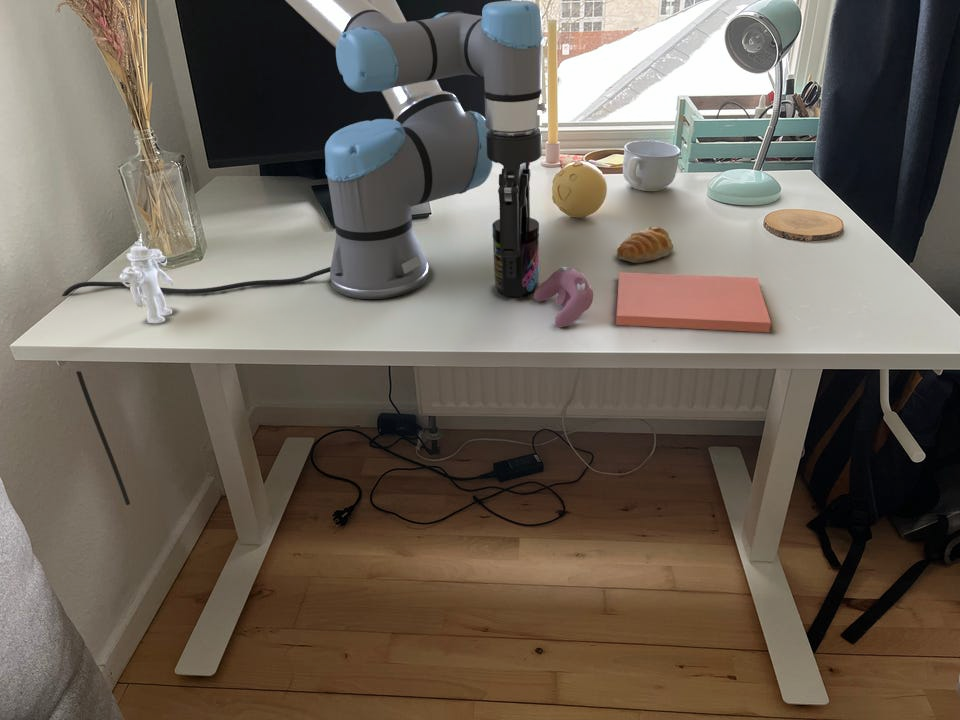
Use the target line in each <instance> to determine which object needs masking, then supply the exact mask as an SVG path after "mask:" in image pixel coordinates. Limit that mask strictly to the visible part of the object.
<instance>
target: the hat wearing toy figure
mask: <svg viewBox="0 0 960 720" xmlns="http://www.w3.org/2000/svg"><path fill="white" fill-rule="evenodd" d="M142 238H143V237H142V233H139V237H138V239H137V241H134V244H135V245H133V246H131V247H130V252H128V253H126V259H127V260H128V261H130V265H128V266H125V268H123V269H122V270H121V271H122V273H120V275H119V279H120V282H122V283H123V284H124V285H125V286H127V287H126V288H129V289H130V290H129V291H130V293H131V295H132V299H133V300H134V304H135V306H136V307H137V308H141V309H144V307H146V308H147V313H146V318H147V323H149V324H162V323H165V321H166V318H165V317H164V316H166V317H167V316H171V315H172V314H173V309H172V308H169V307H167V305H166V304H167V302H166V298H165V297H164V292H162V291H161V289H160V287H161V286H160V285H159V283H158V277H159V278H160V280H161V281H162V282H163V283H164V284H165V285H166V286H169V287H173V286H174V281H173V279H172V278H171V277H170V276H169V275H168V274H166V272H165V270H163V269H160V265H159V264H161V265H162V266H163V267H166V265H167V263H168V257H167V255H163V252H162V250H160V248H148V247H147V246H145V245H144V246H143V243H142V242H143V239H142ZM126 282H128V283H130V284H125V283H126Z"/></svg>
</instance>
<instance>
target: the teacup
mask: <svg viewBox="0 0 960 720" xmlns="http://www.w3.org/2000/svg"><path fill="white" fill-rule="evenodd" d="M623 149H624V152H623V161H622V175H623V178H624V180H625V181H626V182H627V183H628V184H629V185H630V186H631V187H632V188H633V189H635V190H638V191H643V192H658V191H661V190H663V189H665V188H666V187H668V186H669V185H671V184H672V182H673V181H674V180H675V177H676V174H677V170H678V165H679V159H680V154H681V149H680V148H679V146H677V145H674V144H671V143H668V142H665V141H659V140H634V141H630V142H628V143H626V144H625V145H624V146H623Z"/></svg>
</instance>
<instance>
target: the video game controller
mask: <svg viewBox="0 0 960 720" xmlns="http://www.w3.org/2000/svg"><path fill="white" fill-rule="evenodd" d="M555 295H556V305H558V306H562V309H561V310H560V311H559V312H558V313H557V314H556V316H555V318H554V324H555V326H556V327H558V328H564V327H567V326H570V325H572V324H574V323H575V322H576V321H577V320H578V319H579V318H580V317H581V316H583V314H584V313H585V312H586V311H587V310H589V309H590V307H591V306H592V303H593V301H594V295H595V294H594V290H593V288H592V287H590V283H589V281H588V279H587V278H586V276H585V275H584V274H583V273H582V272H580V270H576V269H574V268H572V267H563V266H560V267H559V269H556V270H554V272H552V274H550V276H549V277H547V279H546V280H544V281H543V282H542V283H541V284H539V287H538V288H537V289H536V291H535V293H534V294H533V299H534V300H535V301H536V302H539V303H541V302H545V301H547V300H549V299H551V298H553V297H554V296H555Z"/></svg>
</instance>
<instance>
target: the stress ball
mask: <svg viewBox="0 0 960 720" xmlns="http://www.w3.org/2000/svg"><path fill="white" fill-rule="evenodd" d="M607 185H608V184H607V180H606V178H605V176H604V174H603V172H602V171H601V170H600V169H599V168H598V167H597V166H595V165H594V164H592V163H590V162H588V161H586V160H577V161H574V162H570V163H569V164H567V165H565V166H563V167H562V168H561V169H560V170H559V171H558V172H557V173H555V175H554V177H553V179H552V188H551V194H552V195H551V200H552V201H553V204H555V205H556V207H557V209H559V210H560V211H561V212H562V213H563V214H565V215H566V216H569V217H572V218H585V217H588V216H590V215H593V214H595V213H596V212H597V211H598V210H599V209H600V208H601V207H602V205H603V204H604V202H605V200H606V197H607V191H608V186H607Z"/></svg>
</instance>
